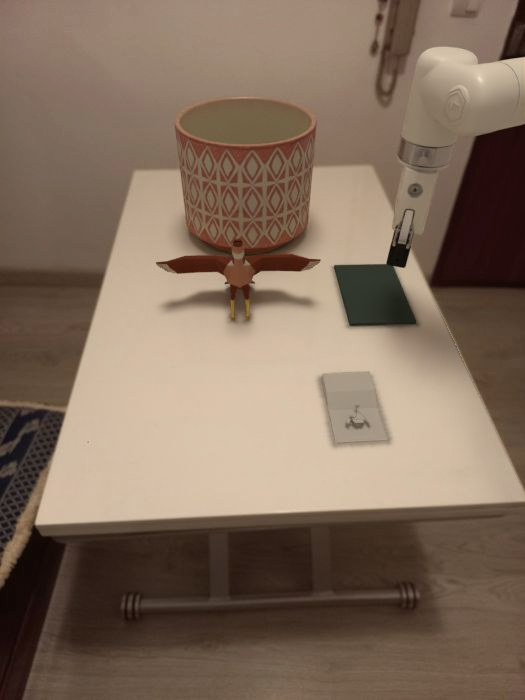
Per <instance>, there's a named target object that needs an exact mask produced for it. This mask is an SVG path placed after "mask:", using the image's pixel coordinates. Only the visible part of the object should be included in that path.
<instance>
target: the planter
mask: <svg viewBox="0 0 525 700" xmlns="http://www.w3.org/2000/svg"><path fill="white" fill-rule="evenodd" d="M174 130H175V131H174V132H175V141H176V149H177V157H178V165H179V172H180V181H181V189H182V198H183V207H184V216H185V221H186V223H185V224H186V226H187V228H188V230H189V231H190V233H191V234H193V235H194V236H195V237H196V238H197V239H200V240H201V241H203V242H205V243H207V244H208V245H210V246H212V247H213V248H215V249H217V250H221V251H223V252H227V253H232V249H231V245H232V243H233V241H234V240H235V239H241V240H242V241H243V243H244V245H245V249H244V255H247V254H248V255H250V254H251V255H254V254H262V253H266V252H270V251H274V250H276V249H279V248H281V247H282V246H284V245H285V244H287V243H289V242H291V241H293V240H294V239H296V238H297V237H299V236H300V235H301V234H303V232H304V231H305V230H306V228H307V226H308V224H309V218H310V217H309V215H310V206H311V205H310V204H311V191H312V182H313V180H312V179H313V172H314V171H313V170H314V160H315V149H316V148H315V147H316V137H317V118H316V116H315V115H314V113H313V112H312V111H310V110H309V109H307V108H306V107H304V106H302V105H300V104H297V103H294V102H291V101H288V100H283V99H280V98H275V97H265V96H250V95H249V96H247V95H244V96H243V95H242V96H239V95H238V96H225V97H218V98H213V99H207V100H203V101H200V102H197V103H194V104H192V105H189V106H187V107H185V108H184V109H182V110H181V111H179V112H178V114H177V115H176V116H175V118H174Z"/></svg>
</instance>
